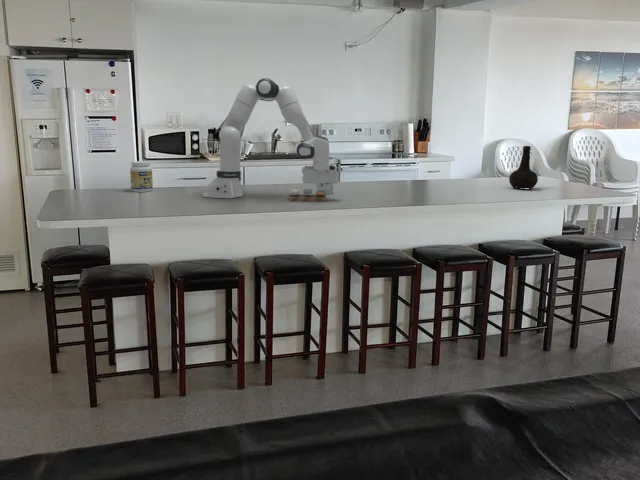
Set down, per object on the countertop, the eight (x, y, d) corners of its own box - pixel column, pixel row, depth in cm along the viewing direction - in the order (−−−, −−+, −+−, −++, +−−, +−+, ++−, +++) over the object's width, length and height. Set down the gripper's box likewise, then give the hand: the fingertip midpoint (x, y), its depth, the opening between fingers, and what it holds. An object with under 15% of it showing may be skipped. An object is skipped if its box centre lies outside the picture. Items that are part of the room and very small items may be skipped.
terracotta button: (316, 195, 331) (316, 191, 331) (316, 194, 335) (316, 190, 335) (324, 195, 332) (324, 192, 331) (323, 194, 336) (323, 190, 335)
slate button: (304, 193, 330) (304, 190, 330) (303, 192, 334) (303, 188, 334) (312, 193, 331) (312, 190, 330) (311, 192, 335) (311, 189, 334)
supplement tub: (139, 193, 343) (138, 163, 339) (126, 190, 350) (125, 161, 346) (157, 190, 353) (156, 161, 349) (144, 188, 360) (143, 160, 356)
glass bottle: (508, 189, 389) (512, 146, 382) (508, 186, 406) (512, 144, 399) (537, 191, 384) (542, 147, 377) (536, 187, 401) (540, 145, 394)
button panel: (290, 201, 327) (290, 197, 326) (289, 197, 338) (289, 193, 338) (326, 201, 329) (326, 197, 328) (324, 198, 340) (324, 194, 340)
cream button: (291, 193, 330) (291, 190, 329) (290, 192, 334) (290, 188, 333) (299, 193, 330) (299, 190, 330) (298, 192, 334) (298, 188, 334)
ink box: (319, 194, 352) (319, 174, 350) (316, 193, 357) (317, 173, 354) (333, 194, 355) (333, 174, 352) (331, 193, 359) (331, 173, 357)
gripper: (302, 166, 326) (302, 192, 329) (339, 167, 328) (339, 192, 331) (301, 165, 332) (301, 190, 335) (338, 165, 334) (337, 190, 337)
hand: (320, 191), depth 333 cm, fingers closed, pressing on terracotta button
